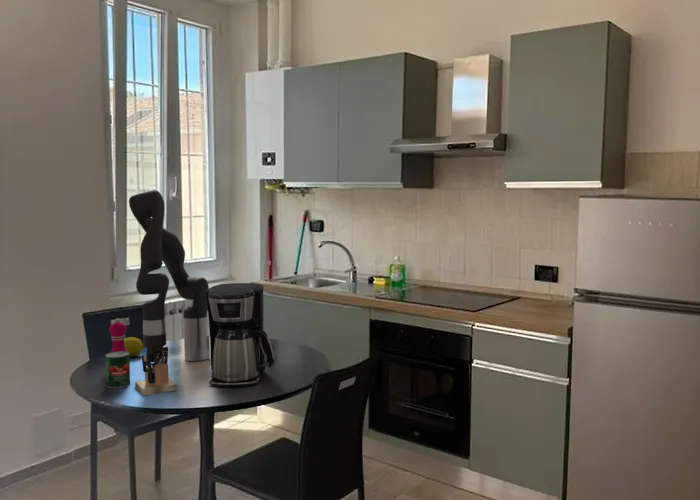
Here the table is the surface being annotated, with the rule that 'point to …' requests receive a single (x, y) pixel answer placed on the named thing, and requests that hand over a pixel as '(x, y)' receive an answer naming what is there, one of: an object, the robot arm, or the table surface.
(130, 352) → the lemon
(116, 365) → the canned tomato
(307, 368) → the table surface
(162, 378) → the cardboard cube
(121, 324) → the pepper mill
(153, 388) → the post base
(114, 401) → the table surface
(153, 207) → the robot arm
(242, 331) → the coffee maker
